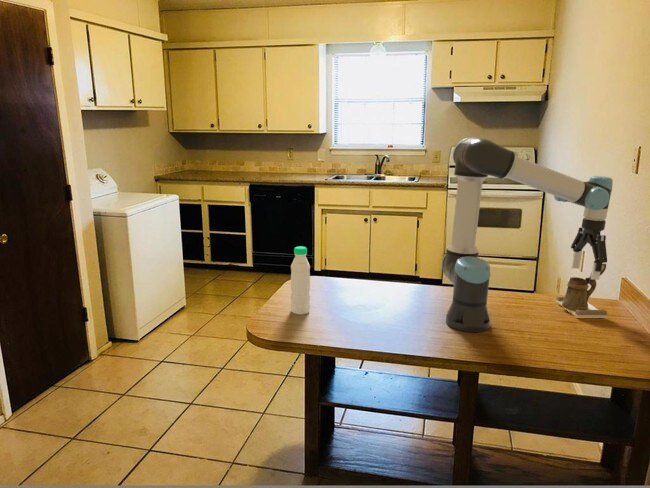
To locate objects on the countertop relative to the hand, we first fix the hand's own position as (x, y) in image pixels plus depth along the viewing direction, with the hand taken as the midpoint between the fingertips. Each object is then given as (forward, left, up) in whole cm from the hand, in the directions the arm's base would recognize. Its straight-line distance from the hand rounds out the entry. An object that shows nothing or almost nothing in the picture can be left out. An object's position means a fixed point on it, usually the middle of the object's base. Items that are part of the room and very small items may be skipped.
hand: (584, 273), depth 186 cm
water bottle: (-108, -2, -15) cm, 109 cm away
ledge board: (0, 0, -15) cm, 15 cm away
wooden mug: (0, -1, -14) cm, 14 cm away
